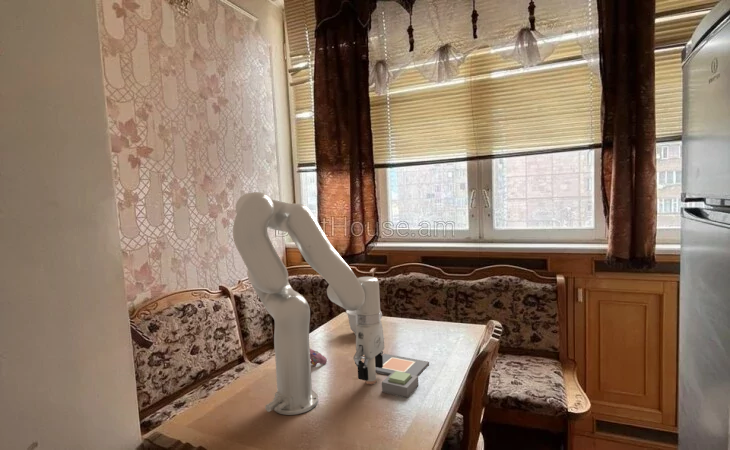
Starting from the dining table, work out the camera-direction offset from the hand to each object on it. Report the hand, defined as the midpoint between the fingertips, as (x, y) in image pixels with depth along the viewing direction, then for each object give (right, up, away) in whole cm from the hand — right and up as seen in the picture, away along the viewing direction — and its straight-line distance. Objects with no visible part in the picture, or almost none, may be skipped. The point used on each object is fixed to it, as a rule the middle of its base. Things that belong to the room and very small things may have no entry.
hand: (370, 372), depth 121 cm
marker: (0, -3, 0) cm, 3 cm away
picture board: (+9, -2, +10) cm, 13 cm away
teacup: (-2, 0, +43) cm, 43 cm away
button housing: (+9, -3, -5) cm, 10 cm away
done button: (+9, -1, -5) cm, 10 cm away
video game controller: (-20, -3, +15) cm, 26 cm away
